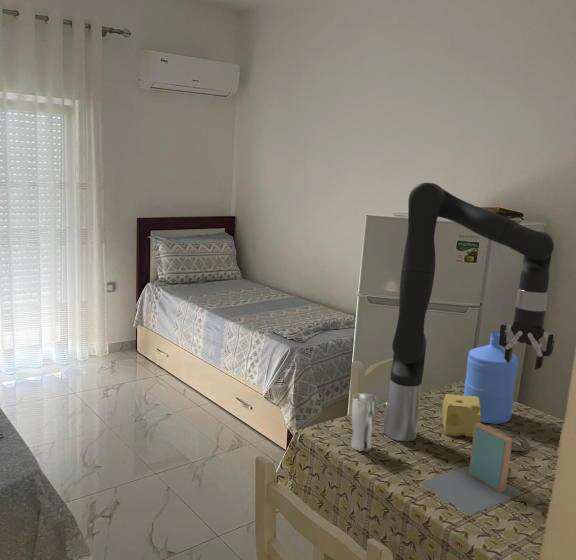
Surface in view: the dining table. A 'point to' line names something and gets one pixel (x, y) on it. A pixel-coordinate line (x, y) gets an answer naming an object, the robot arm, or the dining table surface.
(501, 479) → the tile
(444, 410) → the cheese
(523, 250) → the robot arm
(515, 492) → the mat
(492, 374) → the water jug
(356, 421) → the beer glass
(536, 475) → the dining table surface
